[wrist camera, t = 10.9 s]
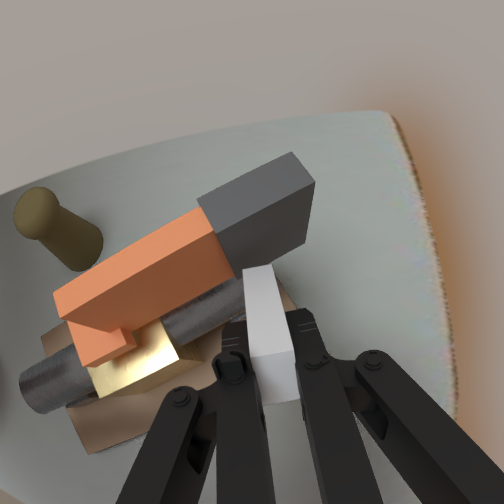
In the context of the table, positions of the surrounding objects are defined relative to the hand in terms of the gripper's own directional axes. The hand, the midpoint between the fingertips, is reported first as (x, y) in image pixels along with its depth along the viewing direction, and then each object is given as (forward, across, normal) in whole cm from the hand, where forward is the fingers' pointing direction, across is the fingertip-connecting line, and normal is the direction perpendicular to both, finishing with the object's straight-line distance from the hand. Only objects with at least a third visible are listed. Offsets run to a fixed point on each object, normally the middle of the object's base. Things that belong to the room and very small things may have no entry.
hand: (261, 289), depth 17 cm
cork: (+19, -20, -2) cm, 27 cm away
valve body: (+9, -11, -9) cm, 17 cm away
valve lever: (+4, -5, -2) cm, 6 cm away
